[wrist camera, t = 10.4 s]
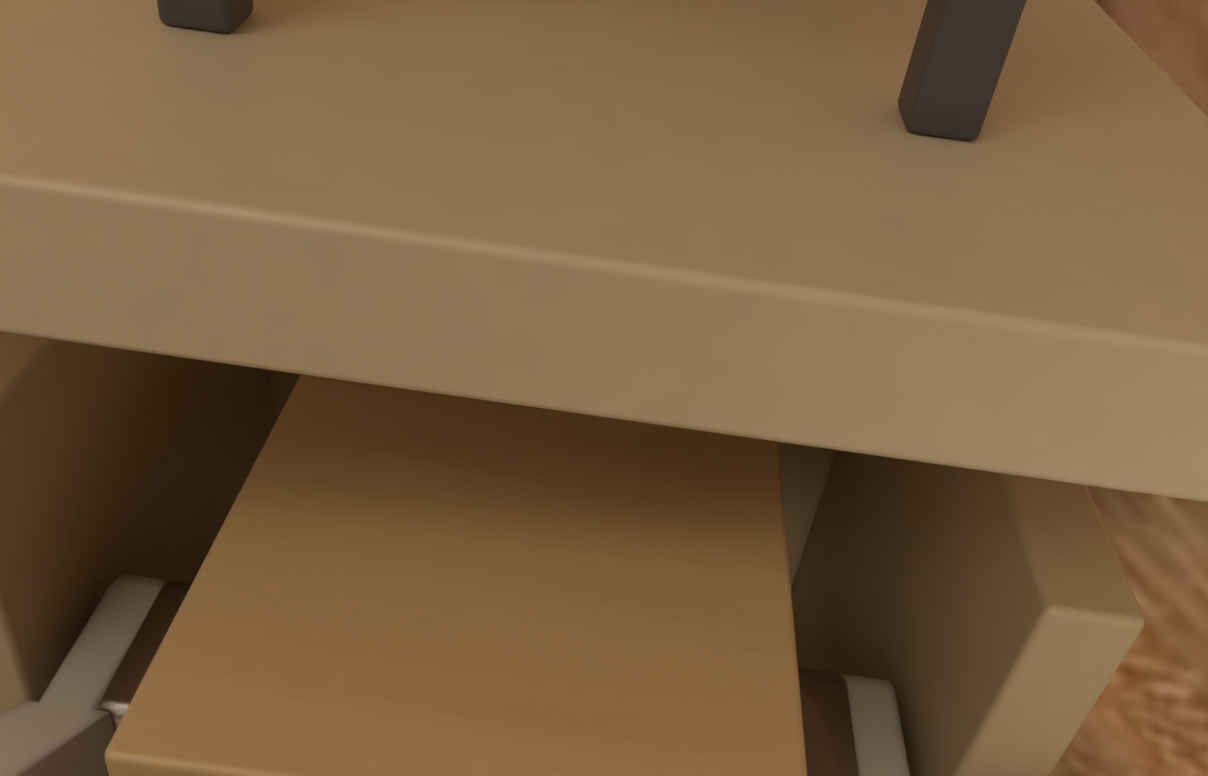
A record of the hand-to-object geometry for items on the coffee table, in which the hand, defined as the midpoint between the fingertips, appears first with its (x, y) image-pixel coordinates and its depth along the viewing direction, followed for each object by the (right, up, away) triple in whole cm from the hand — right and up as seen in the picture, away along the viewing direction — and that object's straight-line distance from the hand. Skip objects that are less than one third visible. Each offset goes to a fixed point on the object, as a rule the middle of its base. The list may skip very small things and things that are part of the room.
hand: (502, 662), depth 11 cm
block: (0, +1, +1) cm, 2 cm away
